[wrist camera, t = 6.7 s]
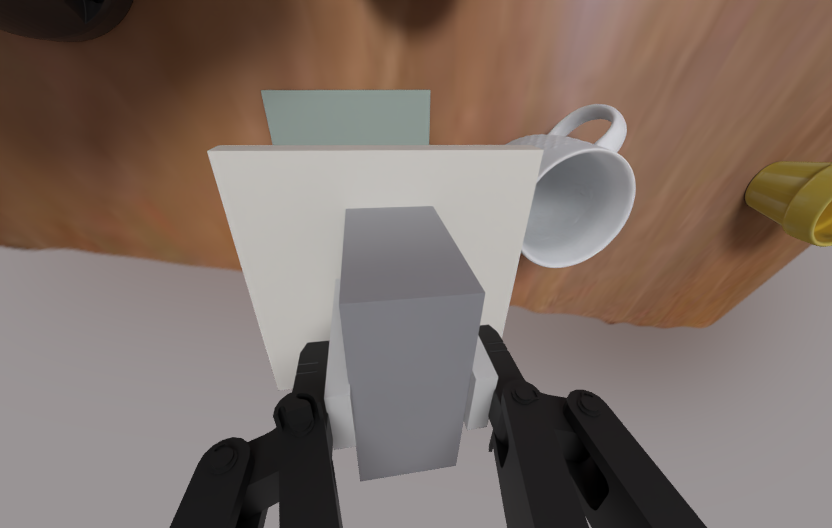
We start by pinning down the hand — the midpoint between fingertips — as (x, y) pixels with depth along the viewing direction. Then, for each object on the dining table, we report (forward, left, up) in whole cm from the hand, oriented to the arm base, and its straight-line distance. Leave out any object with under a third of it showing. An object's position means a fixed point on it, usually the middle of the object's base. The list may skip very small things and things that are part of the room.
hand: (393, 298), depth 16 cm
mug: (+17, 0, -23) cm, 29 cm away
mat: (-2, 0, -23) cm, 23 cm away
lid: (0, 0, -2) cm, 2 cm away
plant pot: (+56, -4, -23) cm, 61 cm away
